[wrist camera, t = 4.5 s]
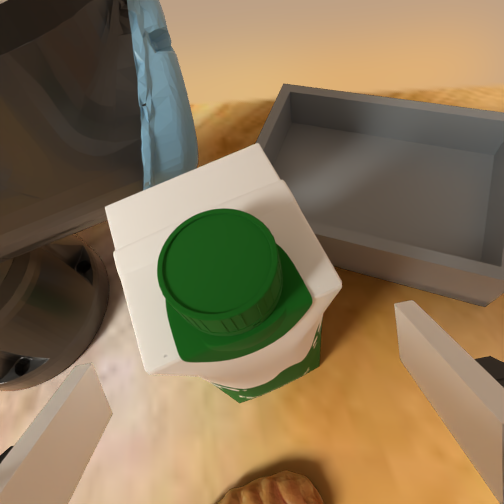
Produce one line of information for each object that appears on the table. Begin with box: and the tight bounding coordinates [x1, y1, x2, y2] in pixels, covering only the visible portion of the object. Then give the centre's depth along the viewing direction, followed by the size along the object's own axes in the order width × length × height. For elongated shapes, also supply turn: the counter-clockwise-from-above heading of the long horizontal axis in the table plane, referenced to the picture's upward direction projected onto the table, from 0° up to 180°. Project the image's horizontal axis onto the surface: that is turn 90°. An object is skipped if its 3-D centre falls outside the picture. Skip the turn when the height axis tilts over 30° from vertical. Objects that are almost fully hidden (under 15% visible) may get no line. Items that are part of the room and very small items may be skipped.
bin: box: [255, 84, 504, 307], centre depth 33 cm, size 22×16×5 cm
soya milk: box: [105, 143, 342, 403], centre depth 21 cm, size 9×9×20 cm
